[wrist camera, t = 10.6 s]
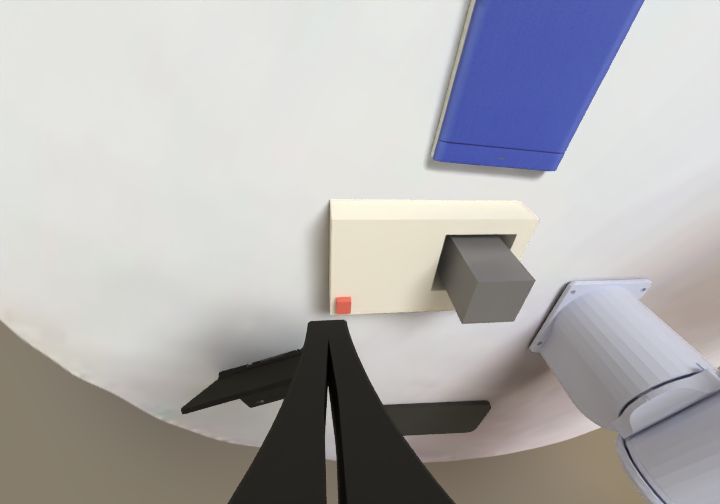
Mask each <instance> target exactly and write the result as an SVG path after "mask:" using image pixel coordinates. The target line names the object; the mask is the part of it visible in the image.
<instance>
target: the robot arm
mask: <svg viewBox="0 0 720 504" xmlns="http://www.w3.org/2000/svg"><path fill="white" fill-rule="evenodd" d="M651 285H652V282H651V281H650V280H648V279H635V280H601V281H574V282H571V283H569V284H568V285H567V287H566V289H565V290H564V292H563V293H562V295H561V297H560V298H559V300H558V302H557V303H556V305H555V306H554V308H553V310H552V311H551V313H550V315H549V316H548V318H547V319H546V321H545V323H544V324H543V326H542V328H541V329H540V331H539V332H538V334H537V336H536V337H535V339H534V341H533V342H532V344H531V345H530V347H529V349H530V351H531V352H540V354H541V355H542V357H543V358H544V360H545V361H546V363H547V364H548V366H549V367H550V369H551V370H552V372H553V373H554V375H555V376H556V378H557V379H558V381H559V382H560V384H561V385H562V387H563V388H564V390H565V391H566V393H567V394H568V396H569V397H570V399H571V400H572V402H573V403H574V405H575V406H576V407H577V408H578V409H579V410H580V411H581V412H582V413H583V414H584V415H585V416H586V417H587V418H588V419H590V420H591V421H592V422H594V423H595V424H597V425H599V426H601V427H603V428H605V429H608V430H611V431H615V432H619V433H620V434H619V435H618V436H617V438H616V447H617V453H618V458H619V460H620V462H621V465H622V467H623V469H624V471H625V473H626V474H627V476H628V478H629V479H630V481H631V483H632V484H633V485H634V487H635V488H636V490H637V491H638V492H639V493H640V495H641V496H642V497H643V498H644V500H645V501H646V502H647V503H648V504H720V371H719V370H718V369H717V368H716V367H715V366H713V365H712V364H711V363H710V362H709V361H708V360H707V359H705V358H704V357H703V356H702V355H701V354H700V353H699V352H698V351H696V350H695V349H694V348H693V347H692V346H691V345H690V344H688V343H687V342H686V341H685V340H684V339H683V338H682V337H680V336H679V335H678V334H677V333H676V332H675V331H674V330H672V329H671V328H670V327H669V326H668V325H667V324H666V323H664V322H663V321H662V320H661V319H660V318H659V317H658V316H657V315H655V314H654V313H653V312H652V311H651V310H650V309H649V308H647V307H646V306H645V305H644V304H643V303H642V302H641V301H639V300H640V298H641V297H642V296H643V295H644V294H645V292H646V291H647V290H648V289H649V287H650V286H651ZM328 386H329V394H330V402H331V411H332V419H333V427H334V435H335V444H336V456H337V480H338V504H455V503H454V501H453V500H452V499H451V498H450V497H449V496H448V494H447V493H446V492H445V491H444V490H443V488H442V487H441V486H440V485H439V484H438V483H437V481H436V480H435V479H434V477H433V476H432V475H431V473H430V472H429V471H428V470H427V468H426V467H425V466H424V465H423V463H422V462H421V460H420V459H419V458H418V456H417V455H416V454H415V452H414V451H413V449H412V448H411V447H410V445H409V444H408V443H407V441H406V440H405V438H404V437H403V436H402V434H401V433H400V431H399V429H398V428H397V426H396V425H395V423H394V422H393V420H392V419H391V417H390V416H389V414H388V412H387V411H386V409H385V407H384V406H383V404H382V402H381V401H380V399H379V397H378V395H377V393H376V392H375V390H374V388H373V386H372V384H371V382H370V380H369V378H368V376H367V374H366V372H365V370H364V368H363V366H362V364H361V361H360V359H359V357H358V355H357V352H356V350H355V347H354V345H353V342H352V339H351V336H350V333H349V330H348V326H347V322H346V321H345V320H326V321H310V322H309V323H308V327H307V334H306V338H305V343H304V346H303V350H302V353H301V357H300V360H299V362H298V365H297V368H296V371H295V374H294V377H293V379H292V382H291V384H290V387H289V389H288V392H287V394H286V396H285V399H284V401H283V403H282V406H281V408H280V410H279V412H278V414H277V416H276V419H275V421H274V423H273V425H272V427H271V429H270V431H269V433H268V435H267V436H266V438H265V440H264V442H263V444H262V446H261V448H260V450H259V452H258V453H257V455H256V457H255V459H254V461H253V463H252V464H251V466H250V467H249V469H248V471H247V473H246V474H245V476H244V478H243V479H242V481H241V483H240V484H239V486H238V487H237V489H236V491H235V492H234V494H233V496H232V498H231V499H230V501H229V502H228V504H327V501H326V469H325V468H326V467H325V466H326V465H325V425H326V407H327V389H328Z"/></svg>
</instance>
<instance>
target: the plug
mask: <svg viewBox="0 0 720 504" xmlns="http://www.w3.org/2000/svg"><path fill="white" fill-rule="evenodd" d="M437 272H438V275H439V277H440V279H441V281H442V283H443V285H444V287H445V289H446V291H447V293H448V295H449V298H450V300H451V302H452V304H453V306H454V308H455V310H456V312H457V314H458V316H459V319H460V321H461V323H462V324H469V323H490V322H512V321H514V320H515V318H516V316H517V314H518V313H519V311H520V309H521V307H522V305H523V303H524V301H525V299H526V297H527V296H528V294H529V292H530V290H531V288H532V286H533V284H534V282H535V279H534V278H533V277H532V276H531V275H530V273H529V272H528V271H527V270H526V269H525V267H524V266H523V265H522V264H521V262H520V261H519V260H518V259H517V258H516V256H515V255H514V254H513V253H512V252H511V250H510V249H509V248H508V247H507V246H506V244H505V243H504V242H503V241H502V240H501V238H500V237H499V236H498V235H497V234H471V235H447V236H446V238H445V240H444V244H443V247H442V254H441V257H440V261H439V265H438V268H437Z"/></svg>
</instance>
